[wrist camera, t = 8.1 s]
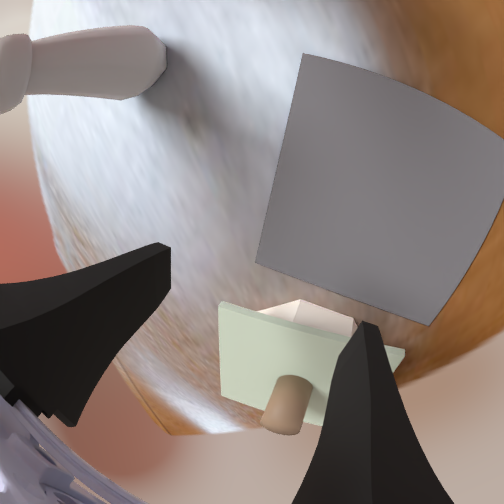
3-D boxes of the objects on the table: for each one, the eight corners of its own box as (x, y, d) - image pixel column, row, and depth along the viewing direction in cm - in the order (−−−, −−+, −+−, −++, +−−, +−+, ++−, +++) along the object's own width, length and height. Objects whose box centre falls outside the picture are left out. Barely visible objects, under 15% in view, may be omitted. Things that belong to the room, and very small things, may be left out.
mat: (517, 150, 10) (519, 151, 9) (428, 323, 18) (428, 326, 18) (303, 54, 13) (302, 53, 12) (256, 260, 21) (254, 262, 21)
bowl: (387, 329, 20) (387, 367, 16) (335, 392, 26) (328, 423, 23) (262, 284, 22) (244, 317, 19) (241, 358, 28) (226, 387, 25)
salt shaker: (192, 56, 15) (7, 53, 4) (146, 112, 18) (-14, 158, 7) (150, 17, 13) (-7, 9, 3) (112, 70, 17) (-31, 96, 6)
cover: (404, 349, 15) (405, 407, 12) (344, 425, 22) (334, 464, 18) (222, 300, 19) (188, 348, 15) (223, 391, 26) (204, 426, 22)
